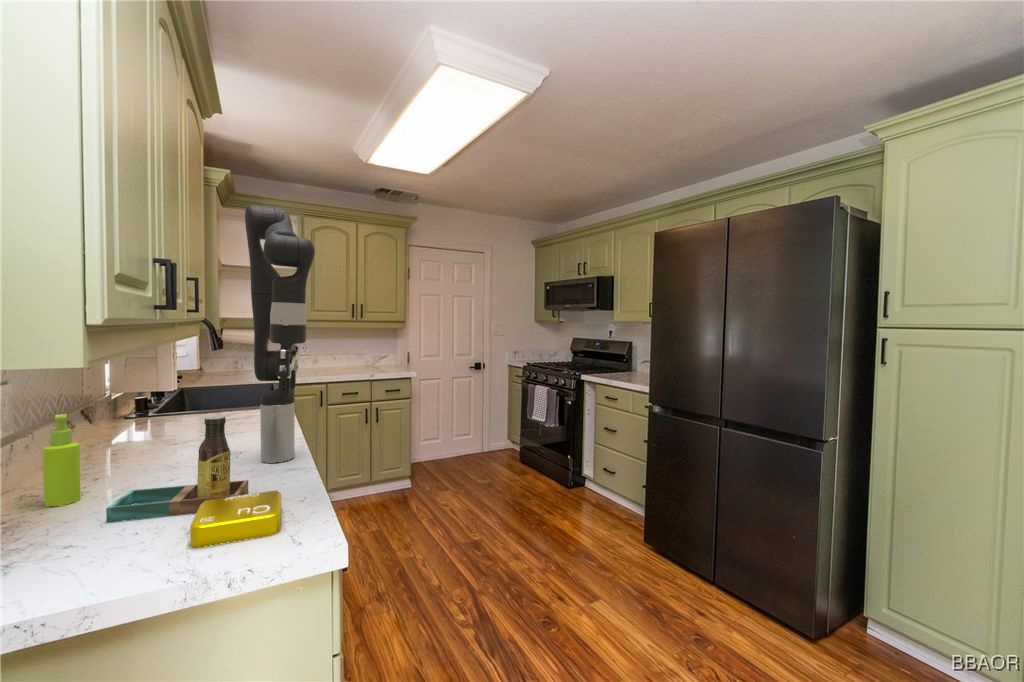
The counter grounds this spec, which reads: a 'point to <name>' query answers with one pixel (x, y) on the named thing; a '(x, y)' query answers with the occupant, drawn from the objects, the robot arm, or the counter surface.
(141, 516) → the twin dock
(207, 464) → the sauce bottle
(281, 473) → the counter surface
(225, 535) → the element tile
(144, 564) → the counter surface
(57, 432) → the soap dispenser
